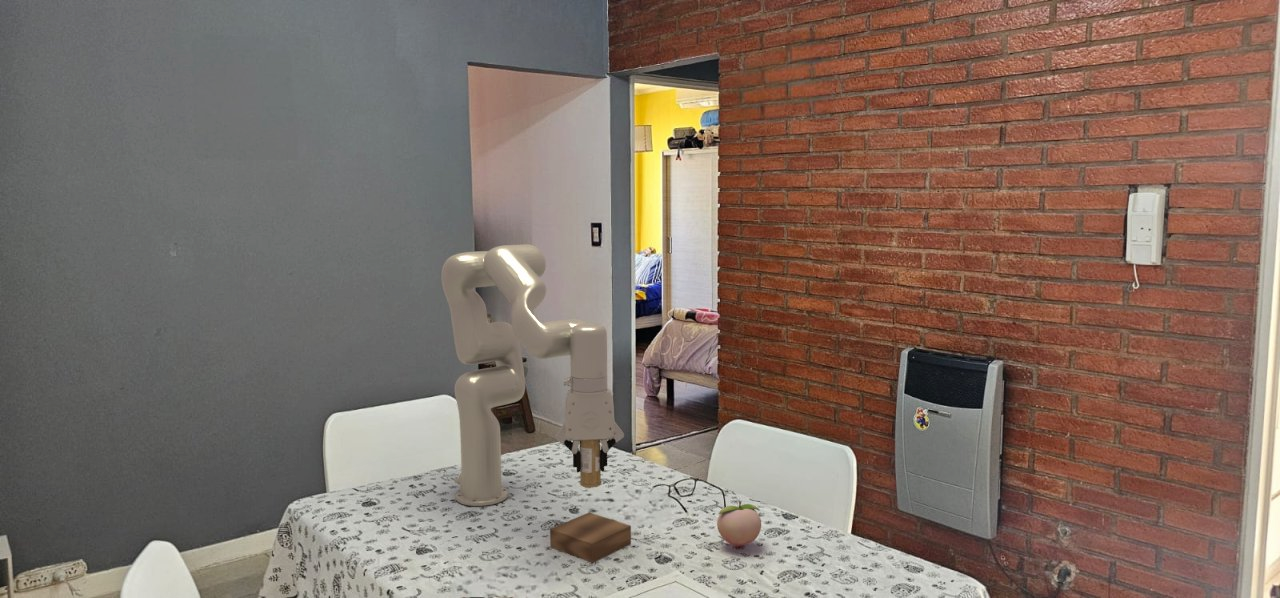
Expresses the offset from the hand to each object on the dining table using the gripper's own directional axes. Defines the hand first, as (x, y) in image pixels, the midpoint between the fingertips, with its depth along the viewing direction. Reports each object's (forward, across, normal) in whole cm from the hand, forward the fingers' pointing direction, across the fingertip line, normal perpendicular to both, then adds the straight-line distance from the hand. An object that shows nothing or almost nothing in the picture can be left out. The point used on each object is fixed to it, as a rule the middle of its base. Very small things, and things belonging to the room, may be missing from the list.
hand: (590, 469), depth 176 cm
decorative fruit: (+17, +31, -4) cm, 36 cm away
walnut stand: (+17, 0, 0) cm, 17 cm away
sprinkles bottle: (+4, 0, 0) cm, 4 cm away
